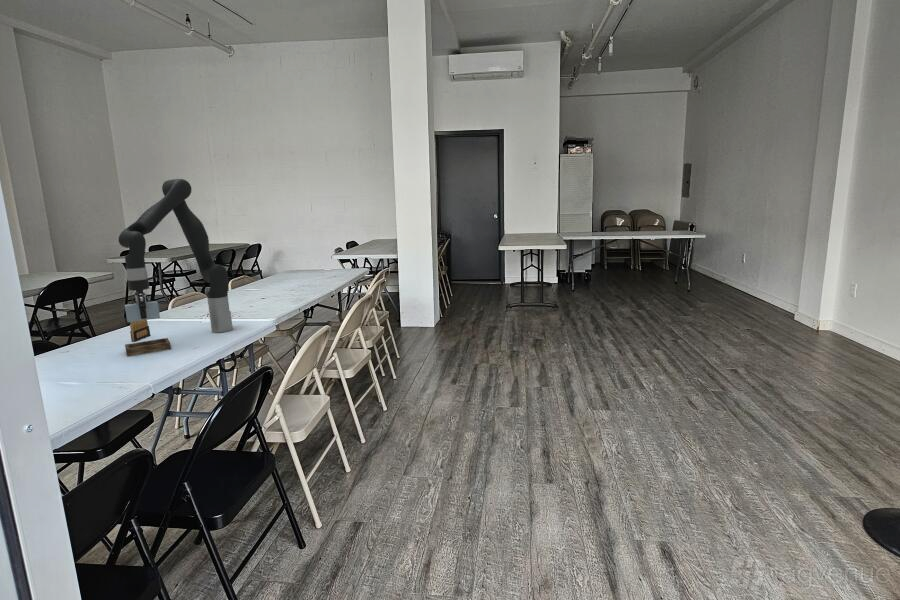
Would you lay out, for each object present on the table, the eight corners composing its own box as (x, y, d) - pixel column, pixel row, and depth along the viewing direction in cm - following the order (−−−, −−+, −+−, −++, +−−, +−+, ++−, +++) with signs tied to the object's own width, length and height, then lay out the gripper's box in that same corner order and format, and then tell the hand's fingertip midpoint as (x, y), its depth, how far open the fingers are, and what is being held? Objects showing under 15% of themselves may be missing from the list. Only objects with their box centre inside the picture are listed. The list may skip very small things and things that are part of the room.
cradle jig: (168, 344, 231) (167, 337, 230) (171, 349, 223) (170, 342, 222) (126, 351, 221) (124, 344, 221) (127, 356, 214) (126, 349, 213)
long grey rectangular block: (159, 316, 224) (156, 301, 223) (160, 318, 221) (157, 302, 220) (127, 320, 218) (124, 304, 216) (127, 322, 214) (125, 306, 213)
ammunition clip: (135, 341, 237) (131, 316, 235) (131, 341, 237) (127, 316, 235) (150, 335, 247) (147, 311, 245) (147, 335, 248) (143, 311, 245)
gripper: (149, 279, 212) (155, 319, 216) (146, 275, 224) (151, 313, 227) (128, 281, 208) (134, 322, 211) (126, 277, 220) (132, 316, 223)
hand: (143, 317), depth 219 cm, fingers closed on long grey rectangular block, 4 cm apart
